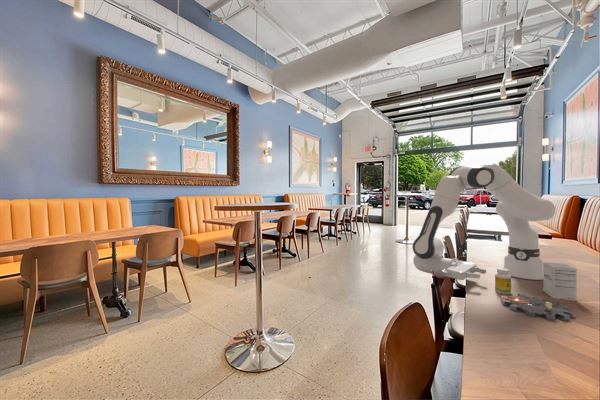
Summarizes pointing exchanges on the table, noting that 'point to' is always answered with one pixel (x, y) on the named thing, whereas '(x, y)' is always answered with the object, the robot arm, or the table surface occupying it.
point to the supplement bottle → (503, 281)
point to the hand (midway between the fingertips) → (482, 274)
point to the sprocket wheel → (537, 307)
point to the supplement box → (560, 281)
